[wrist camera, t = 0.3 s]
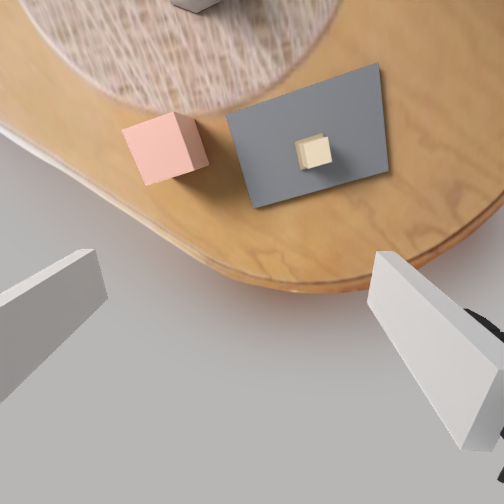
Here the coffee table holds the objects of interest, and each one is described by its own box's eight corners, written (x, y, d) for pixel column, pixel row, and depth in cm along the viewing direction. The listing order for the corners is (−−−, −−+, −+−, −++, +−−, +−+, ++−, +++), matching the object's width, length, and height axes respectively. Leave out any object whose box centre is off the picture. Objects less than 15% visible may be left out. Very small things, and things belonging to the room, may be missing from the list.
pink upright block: (153, 133, 34) (121, 130, 26) (194, 118, 33) (173, 111, 25) (170, 177, 36) (145, 185, 28) (209, 164, 35) (194, 170, 28)
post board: (226, 116, 32) (218, 109, 27) (374, 65, 30) (399, 46, 24) (253, 206, 37) (251, 218, 31) (384, 169, 34) (408, 175, 28)
